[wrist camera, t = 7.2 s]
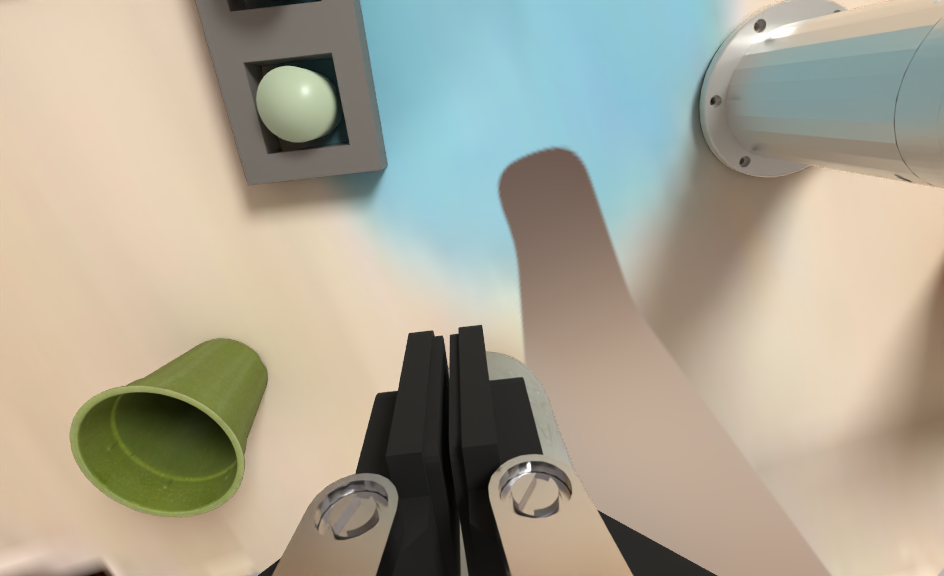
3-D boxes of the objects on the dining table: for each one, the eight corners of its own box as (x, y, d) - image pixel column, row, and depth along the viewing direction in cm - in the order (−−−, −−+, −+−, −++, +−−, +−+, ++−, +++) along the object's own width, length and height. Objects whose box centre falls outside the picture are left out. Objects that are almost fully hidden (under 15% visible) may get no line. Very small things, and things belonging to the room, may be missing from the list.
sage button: (334, 66, 34) (320, 61, 30) (348, 134, 36) (336, 138, 32) (269, 73, 34) (247, 70, 30) (286, 141, 36) (267, 146, 32)
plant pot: (148, 314, 41) (44, 387, 30) (284, 314, 41) (228, 386, 31) (177, 424, 45) (94, 520, 35) (300, 423, 46) (255, 517, 35)
